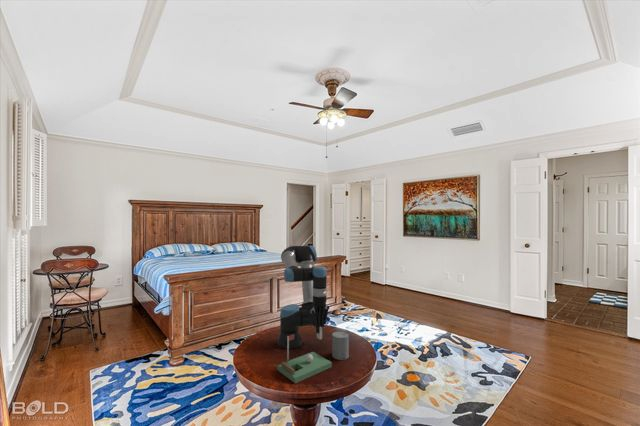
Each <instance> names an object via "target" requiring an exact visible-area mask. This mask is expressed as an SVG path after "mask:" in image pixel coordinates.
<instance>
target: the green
mask: <svg viewBox="0 0 640 426" xmlns="http://www.w3.org/2000/svg"><path fill="white" fill-rule="evenodd" d="M293 339H294V334H293V335H290V336H287V350H286V356H287V357H286V361H285V362H284V361H282V362H281V363H280V364H278V365H277V368H276V370H277V371H278V372H279V373H281V374H282V375H283V376H285V377H286V378H287V379H289V380H291V381H292V382H293V383H294V384H297V383H299V382H302V381H304V380H306V379H309V378H311V377H313V376H315V375H318V374H319V373H321V372H324V371H326V370H328V369H331V368H332V367H333V362H332V361H331V360H328V359H326V358H325V357H323V356H321V355H320V354H318V353H316V352H314V351H311V352H308V353H306V354H303V355H300V356H297V357H295V358H293V359H290V356H289V355H290V352H289V351H290V350H289V341H290V340H293ZM308 354H311V355H312V356H313V360H312V362H307V361H306V356H307V355H308Z"/></svg>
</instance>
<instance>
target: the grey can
mask: <svg viewBox="0 0 640 426" xmlns="http://www.w3.org/2000/svg"><path fill="white" fill-rule="evenodd" d="M331 335H332V342H331V343H332V344H331V345H332V347H331V350H332V351H331V352H332V353H331V356H332V358H334V359H335V360H339V361H343V360H347V359H348V358H349V357H350V355H349V352H350V351H349V349H350V346H349V344H350V343H349V339H350V337H349V336H350V334H349V333H348V332H346V331H343V330H342V331H341V330H338V331H334V332H332V334H331Z"/></svg>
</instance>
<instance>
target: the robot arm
mask: <svg viewBox="0 0 640 426" xmlns="http://www.w3.org/2000/svg"><path fill="white" fill-rule="evenodd" d="M280 259H281V261H282V263H283V264H284V267H285V269H284V270H283V278H284V279H283V280H284V281H285V282H286V283H295V282H297V283H299V282H301V287H302V288H301V289H302V290H301V291H302V300H303V302H302V303H301V305H300V306H299V305H298V304H293V303H292V304H287V305H285V306H282V307H281V309H280V315H279V317H280V319H279V320H280V321H279V323H280V327H279V328H280V329H279V334H278V338H277V342H276V344H277V346H278V347H279V348H281V349H285V350H286V349H287V336H290V335H293V334H294V339H293V340H290V341H289V349H290V350H291V349H297V348H298V347H300V346H301V345H302V336H301V334H300V327H312V326H313V327H315V333H316V339H318V340H322V339H323V332H324V327H325V325H327V320H328V312H329V310H330V306H329V305H327V280H328V279H327V275H328V273H327V267H325V266H322V265H321V266H318V265H317V266H314V265H315V264H316V262H317V260H318V253H317V250H316V247H315V246H314V245H309V244H308V245H290V246H288V247H286V248H285V249H284V250H283V251H282V253H281V255H280Z"/></svg>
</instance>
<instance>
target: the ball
mask: <svg viewBox="0 0 640 426" xmlns="http://www.w3.org/2000/svg"><path fill="white" fill-rule="evenodd" d="M307 354H308V353H307ZM312 360H313V356H312V355H311V354H308V355H307V356H306V361H307V362H312Z"/></svg>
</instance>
